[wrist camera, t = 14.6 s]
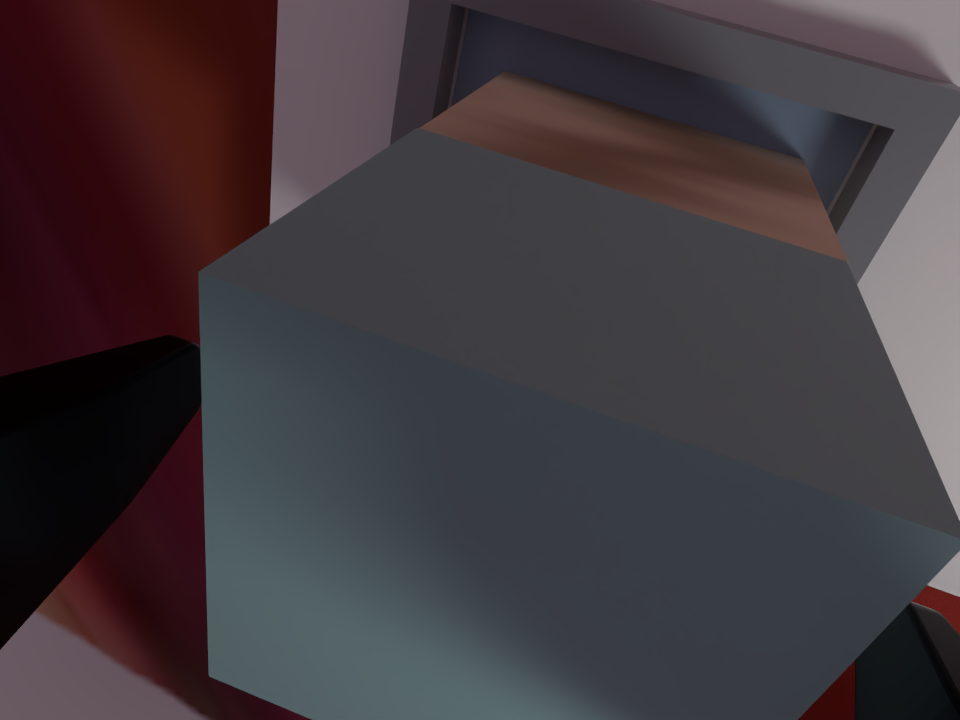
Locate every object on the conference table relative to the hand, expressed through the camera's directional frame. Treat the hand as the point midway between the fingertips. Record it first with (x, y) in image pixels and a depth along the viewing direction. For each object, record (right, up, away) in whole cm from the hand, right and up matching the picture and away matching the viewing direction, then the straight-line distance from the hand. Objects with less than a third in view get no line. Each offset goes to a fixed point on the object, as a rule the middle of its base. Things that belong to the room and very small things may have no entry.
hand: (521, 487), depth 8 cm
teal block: (+1, +1, +2) cm, 3 cm away
